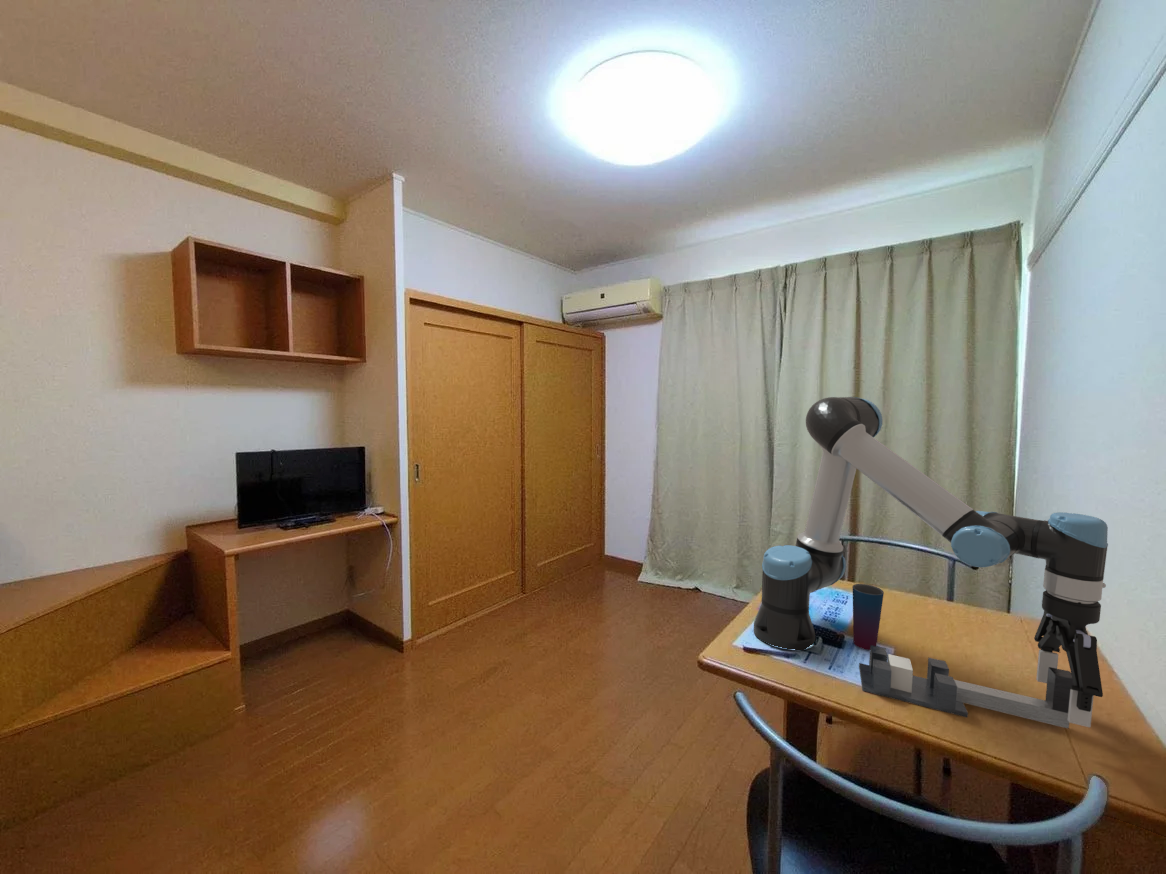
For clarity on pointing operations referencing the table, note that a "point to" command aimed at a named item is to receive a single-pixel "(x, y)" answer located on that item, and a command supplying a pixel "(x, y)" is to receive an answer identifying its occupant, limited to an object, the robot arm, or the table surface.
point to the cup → (866, 614)
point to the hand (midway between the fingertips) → (1061, 701)
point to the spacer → (901, 673)
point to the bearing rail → (913, 684)
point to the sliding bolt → (1024, 699)
